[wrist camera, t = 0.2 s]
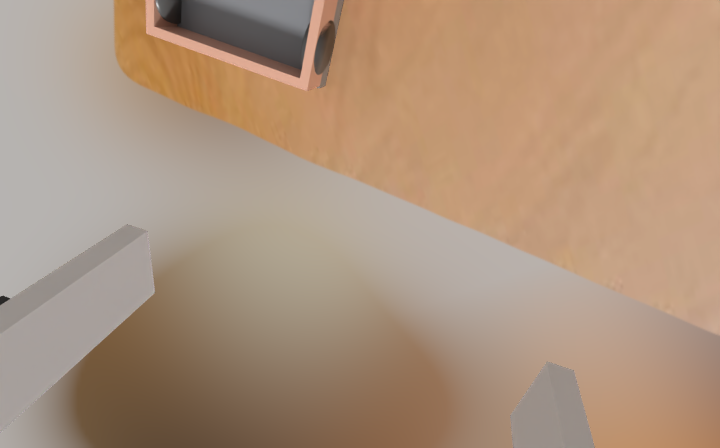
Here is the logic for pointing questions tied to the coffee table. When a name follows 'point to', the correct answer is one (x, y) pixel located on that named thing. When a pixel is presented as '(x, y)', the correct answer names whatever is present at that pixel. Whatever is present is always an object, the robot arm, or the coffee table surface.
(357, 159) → the coffee table surface
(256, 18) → the chassis
